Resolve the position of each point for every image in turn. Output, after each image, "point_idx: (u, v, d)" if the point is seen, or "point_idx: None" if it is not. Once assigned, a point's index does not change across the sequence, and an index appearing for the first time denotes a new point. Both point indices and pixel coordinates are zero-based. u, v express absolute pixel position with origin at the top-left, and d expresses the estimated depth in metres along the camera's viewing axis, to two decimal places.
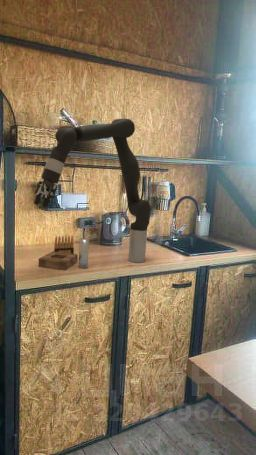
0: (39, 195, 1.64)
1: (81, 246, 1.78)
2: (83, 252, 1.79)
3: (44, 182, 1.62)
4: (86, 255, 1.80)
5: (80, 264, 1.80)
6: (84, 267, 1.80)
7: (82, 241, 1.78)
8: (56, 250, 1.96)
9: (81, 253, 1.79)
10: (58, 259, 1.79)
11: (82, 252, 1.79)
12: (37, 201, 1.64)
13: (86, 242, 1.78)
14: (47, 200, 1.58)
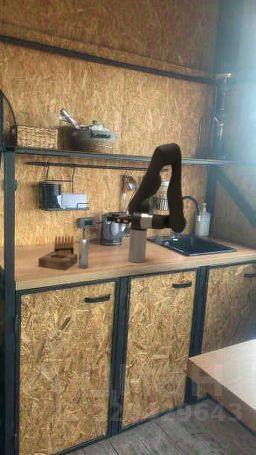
0: None
1: (81, 246, 1.78)
2: (83, 252, 1.79)
3: None
4: (86, 255, 1.80)
5: (80, 264, 1.80)
6: (84, 267, 1.80)
7: (82, 241, 1.78)
8: (56, 250, 1.96)
9: (81, 253, 1.79)
10: (58, 259, 1.79)
11: (82, 252, 1.79)
12: None
13: (86, 242, 1.78)
14: None
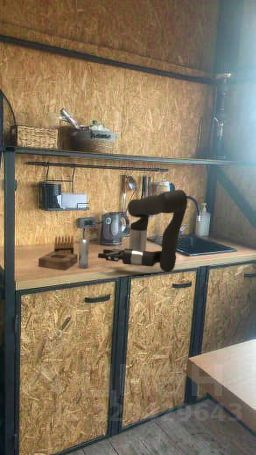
0: None
1: (81, 246, 1.78)
2: (83, 252, 1.79)
3: None
4: (86, 255, 1.80)
5: (80, 264, 1.80)
6: (84, 267, 1.80)
7: (82, 241, 1.78)
8: (56, 250, 1.96)
9: (81, 253, 1.79)
10: (58, 259, 1.79)
11: (82, 252, 1.79)
12: None
13: (86, 242, 1.78)
14: None
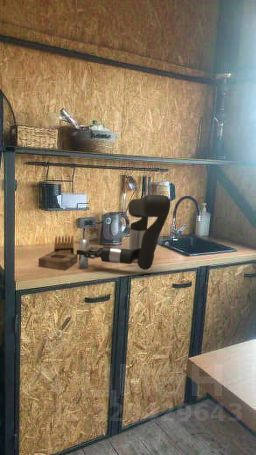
0: None
1: (81, 246, 1.78)
2: None
3: None
4: None
5: (80, 264, 1.80)
6: (84, 267, 1.80)
7: (82, 241, 1.78)
8: (56, 250, 1.96)
9: None
10: (58, 259, 1.79)
11: None
12: None
13: (86, 242, 1.78)
14: None
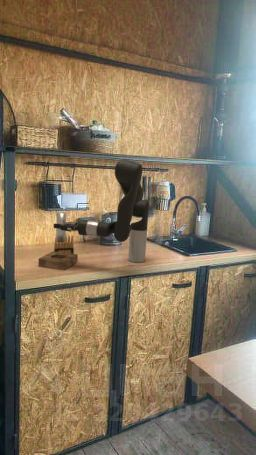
0: None
1: (58, 220, 1.78)
2: None
3: None
4: None
5: (57, 238, 1.80)
6: (61, 241, 1.80)
7: (59, 214, 1.78)
8: (56, 250, 1.96)
9: None
10: (58, 259, 1.79)
11: None
12: None
13: (63, 215, 1.78)
14: None
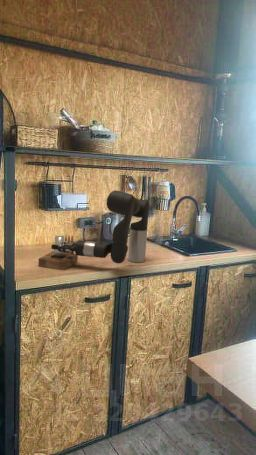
0: None
1: (56, 243, 1.81)
2: None
3: None
4: (61, 252, 1.82)
5: None
6: None
7: (57, 238, 1.80)
8: None
9: (56, 250, 1.82)
10: (58, 259, 1.79)
11: (57, 250, 1.81)
12: None
13: (61, 239, 1.81)
14: None
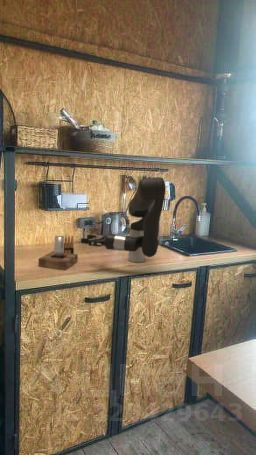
0: None
1: (56, 243, 1.81)
2: (58, 249, 1.81)
3: None
4: (61, 252, 1.82)
5: None
6: None
7: (57, 238, 1.80)
8: None
9: (56, 250, 1.82)
10: (58, 259, 1.79)
11: (57, 250, 1.81)
12: None
13: (61, 239, 1.81)
14: None
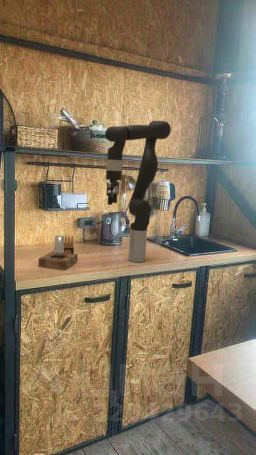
0: (115, 194, 1.81)
1: (56, 243, 1.81)
2: (58, 249, 1.81)
3: None
4: (61, 252, 1.82)
5: None
6: None
7: (57, 238, 1.80)
8: None
9: (56, 250, 1.82)
10: (58, 259, 1.79)
11: (57, 250, 1.81)
12: (114, 200, 1.82)
13: (61, 239, 1.81)
14: None
